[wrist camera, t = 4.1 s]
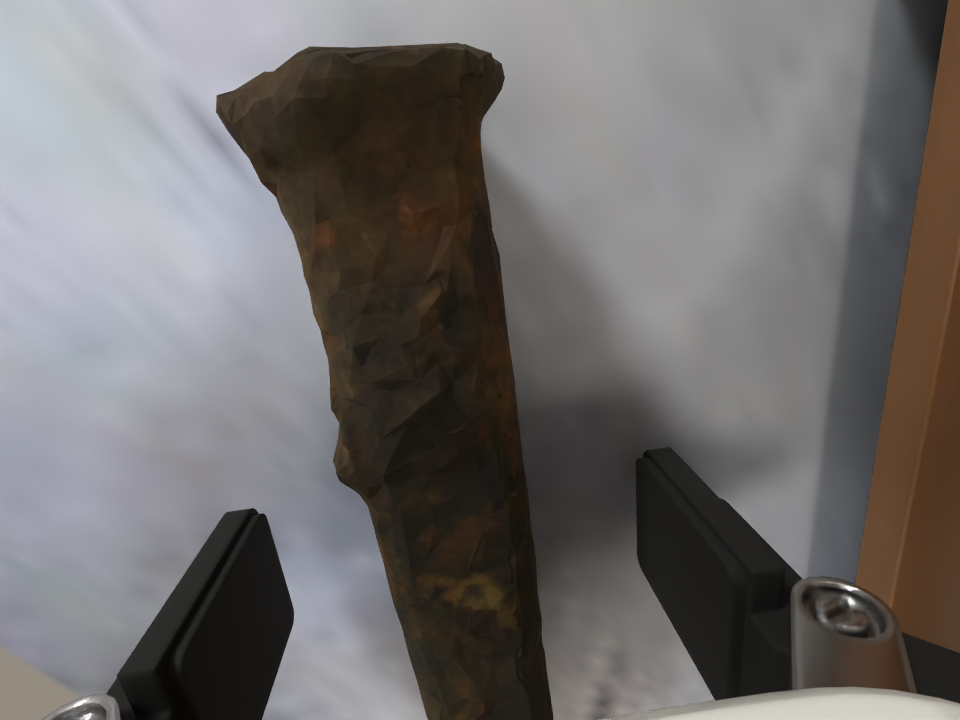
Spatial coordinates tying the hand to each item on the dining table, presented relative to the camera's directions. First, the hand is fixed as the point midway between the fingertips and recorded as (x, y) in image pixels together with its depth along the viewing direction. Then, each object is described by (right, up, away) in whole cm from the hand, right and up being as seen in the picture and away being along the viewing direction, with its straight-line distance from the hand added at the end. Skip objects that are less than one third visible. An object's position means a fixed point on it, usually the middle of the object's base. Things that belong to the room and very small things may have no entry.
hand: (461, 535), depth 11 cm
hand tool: (0, 0, +1) cm, 1 cm away
